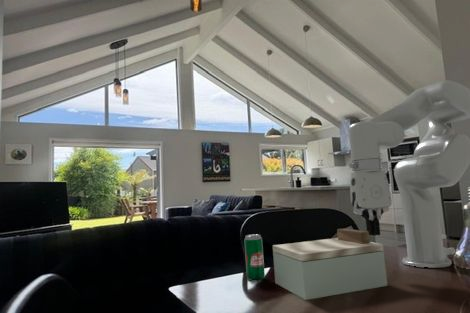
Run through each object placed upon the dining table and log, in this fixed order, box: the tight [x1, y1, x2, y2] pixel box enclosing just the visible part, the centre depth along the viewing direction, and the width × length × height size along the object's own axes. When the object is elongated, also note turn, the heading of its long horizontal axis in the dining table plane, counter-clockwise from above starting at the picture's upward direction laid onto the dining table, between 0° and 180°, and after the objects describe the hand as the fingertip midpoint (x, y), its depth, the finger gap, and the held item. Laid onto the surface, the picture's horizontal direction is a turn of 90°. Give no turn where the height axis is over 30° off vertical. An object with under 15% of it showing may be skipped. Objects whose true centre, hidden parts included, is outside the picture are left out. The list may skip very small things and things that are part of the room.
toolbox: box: [272, 250, 388, 301], centre depth 84 cm, size 22×16×8 cm
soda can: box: [243, 233, 266, 281], centre depth 94 cm, size 5×5×12 cm
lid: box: [272, 228, 384, 261], centre depth 84 cm, size 22×16×4 cm
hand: (373, 234), depth 89 cm, fingers closed
